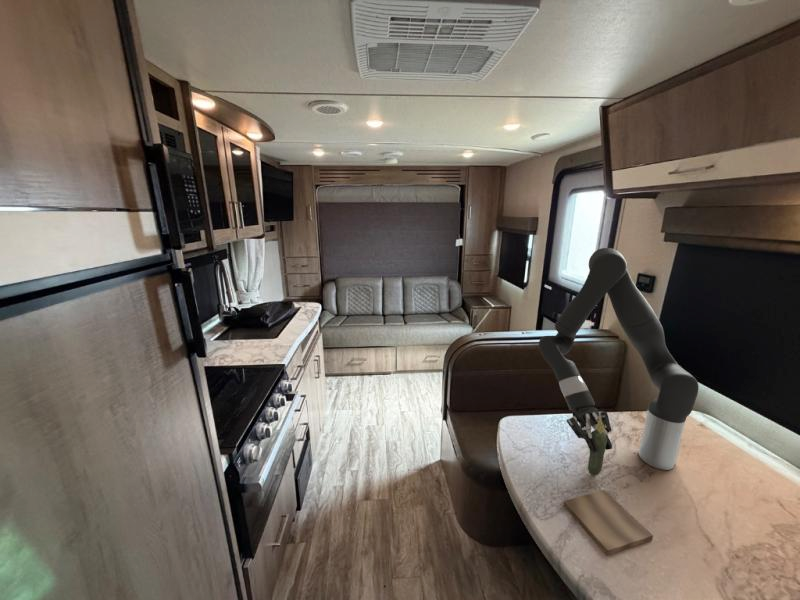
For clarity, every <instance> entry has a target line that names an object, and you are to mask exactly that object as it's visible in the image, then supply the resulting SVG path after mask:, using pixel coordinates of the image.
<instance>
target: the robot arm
mask: <svg viewBox="0 0 800 600" xmlns="http://www.w3.org/2000/svg"><path fill="white" fill-rule="evenodd" d="M627 264H628V263H627V260H626V258H625V257H624V256H623V254H622V253H621V252H620V251H618V250H616V249H614V248H611V247H602V248H599V249H597V250H595V251H594V252H593V253H592V254H591V256H590V257H589V260H588V268H589V272H588V274H587V276H586V280H585V282H584V283H583V285H582V287H581V289H580V290H579V291H578V293H577V294H576V295H575V297H573V299H571V301H570V302H569V303H568V304H567V305H566V306H565V307H564V309H563V311H562V312H561V314H560V315H559V317H558V318H557V320H556V321H555V324H554V329H555V330H556V332H557V333H556V334H555V335H545V336H542V337H541V338H540V339H539V341H538V350H539V352H540V355H541V356H542V357H543V359H544V361H545V362H546V363H547V364H548V366H549V367H550V368H551V369H552V371H553V372H554V375H555V377H556V379H557V382H558V385H559V389H560V391H561V393H562V394H563V397H564V400H565V402H566V404H567V406H568V407H567V408H568V409H569V410H570V411H571V412H572V416H571V417H569V418H567V419H566V423H567V424H568V425H569V427H570V428H571V430H572V432H573V433H574V434H575V435H576V437H577V438H578V439H583V440H584V441H585V443H586V445H587V447H588V449H589V452H590V451H592V453H596V452H599V450H598V448H597V445H596V443H595V441H594V439H593V438H592V434H591V433H592V429H593V430H597V429H596V428H597V424H598V422H599V421H597V418H600V419H601V420H602V423H603V425H604V426H605V430H604V432H603V433H604V434H605V435H606V438H607V444H606V449H605V451H608V450H613V444H612V442H611V439H610V438H609V433H611V432H612V427H611V422H610V419H609V415H608V412H607V411H598V409H597V408H596V407H595V404H596V402H595V401H594V398H593V396H592V394H591V392H590V391H589V388H588V386H587V384H586V382H585V381H584V379H583V378H582V376H581V373H580V372H579V369H578V368H577V366H576V363H575V362H574V361H573V360H570V359H567V358H566V357H565V355H567V354H568V353H569V352H570V351H571V350H572V348H573V346H574V342H575V339H576V335H577V333H578V332H579V331H580V330H581V328H582V326H583V324H584V323H585V322H586V321H587V319H588V318H589V316H590V314H591V313H593V312H592V311H594V309H595V308H596V307H597V305H598V304H599V303H600V301H601V300H602V298H604V296H605V295H606V294H607V295H608V298H609V300H610V303H611V306H612V308H613V311H614V314H615V316H616V318H617V320H618V323H619V324H620V326H621V328H622V329H623V332H624V333H625V334H626V336H627V338H628V340H629V341H630V343H631V344H632V345H633V348H635V349H636V351H637V352H638V353H639V355H640V357H641V359H642V361H643V364H644V365H645V368H646V371H647V373H648V375H649V378H650V380H651V382H652V383H653V384H654V386H655V387H656V389H658V390H659V393H658V396H657V398H655V399H651V400H650V401H649V403H648V406H647V407H648V408H647V410H646V416H645V421H644V424H643V425H644V426H643V431H642V435H641V439H640V445H639V449H638V456H639V458H640V459H641V461H643V462H645V463H646V464H647V465H649V466H651V467H653V468H656V469H658V470H663V471H670V470H673V469H674V468H675V464H676V463H677V460H678V456H679V452H680V448H681V444H682V440H683V439H682V436H683V432H684V427H685V424H686V420H687V417H689V416H690V414H691V413H692V412H693V409H694V407H695V403H696V400H697V397H698V394H699V382H698V380H697V379H696V377H694V376H693V375H692V374H691V373H690V372H688V371H687V370H685V369H684V368H683V367H682V366H681V365H679V364H678V362H677V361H676V359H675V358H674V357H673V355H672V354H671V353H670V351H669V349H668V347H667V345H666V337H665V331H664V327H663V325H662V324H661V323H662V322H661V321H660V319H659V318H658V316H657V315H656V312H655V310H654V309H653V308H652V306H651V305H650V303H649V302H648V301H647V299H646V298H645V296H644V295H643V294H642V293H641V291H640V289H638V288H637V286H636V285H635V283H634V281H633V280H632V277H631V275H630V272H629V270H628V265H627ZM596 421H597V422H596Z"/></svg>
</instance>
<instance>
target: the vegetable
mask: <svg viewBox="0 0 800 600" xmlns="http://www.w3.org/2000/svg"><path fill="white" fill-rule="evenodd" d="M597 421H599V422H598V424H597V428H596V429H597V430H595V429H593V430H591V434H592V438H593V439H594V441H595V443H596V445H597V448H598V450H599V452H596V453H592V451H590V450H589V455H588V456H589V457H588V464H587V470H588V474H590V475H591V476H593V477H594V476H598V475H600V474H601V472H602V469H603V464H604V456H605V452H606V444H607V438H606V435H605V434H604V433H603V432H604V430H605V426H606V425H605V426H604V425H603V423H602V420H601V419H600V418H597ZM597 421H596V422H597Z"/></svg>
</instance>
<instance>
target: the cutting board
mask: <svg viewBox="0 0 800 600" xmlns="http://www.w3.org/2000/svg"><path fill="white" fill-rule="evenodd" d="M562 503H563V504H562V506H563V507H564V508H565V509H566V511H567V512H568V513H569V514H570V515H571V516H572V517H573V518H574V519H575V521H576V522H577V523H578V524H579V525H580V527H582V528H583V530H584V531H585V532H586V534H588V536H589V537H590V538H591V539H592V540H593V541H594V542H595V544H596V545H597V546H598V547H599V548H600V550H602V552H603V553H604V554H605V555H606V556H609V555H613V554H615V553H618V552H621V551H624V550H627V549H630V548H634V547H635V546H638V545H642V544H645V543H647V542H650V541H653V537H654V535H653V534H652V532H650V531H649V530H648V529H647V528H646V527H645V526H644V525H643V524H642V523H641V522H640V521H639V520H638V519H636V518H635V517H634V516H633V514H631V512H629V511H628V510H627V509H626V508H625V507H623V506H622V504H620V503H619V502H618V501H617V500H616V499H615V498H614V497H613V496H612V495H610V493H608V491H606V490H605V489H602V490H598V491H593V492H590V493H586V494H583V495H579V496H575V497H572V498H568V499H565V500H563V502H562Z"/></svg>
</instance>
